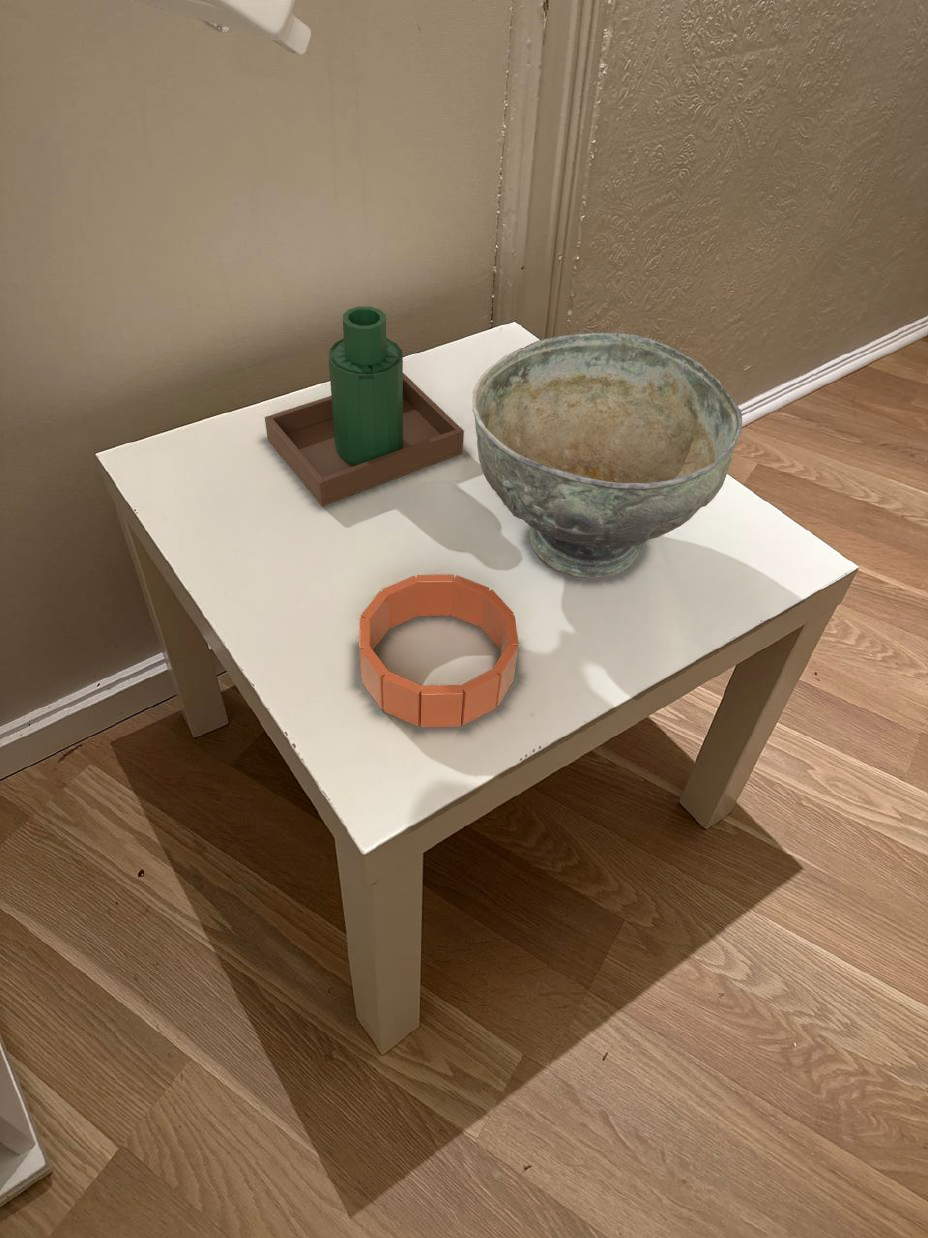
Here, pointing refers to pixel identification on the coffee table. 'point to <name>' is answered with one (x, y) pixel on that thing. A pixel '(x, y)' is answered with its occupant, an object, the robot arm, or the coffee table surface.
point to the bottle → (366, 388)
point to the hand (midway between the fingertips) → (263, 31)
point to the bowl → (602, 444)
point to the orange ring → (437, 600)
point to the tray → (330, 478)
